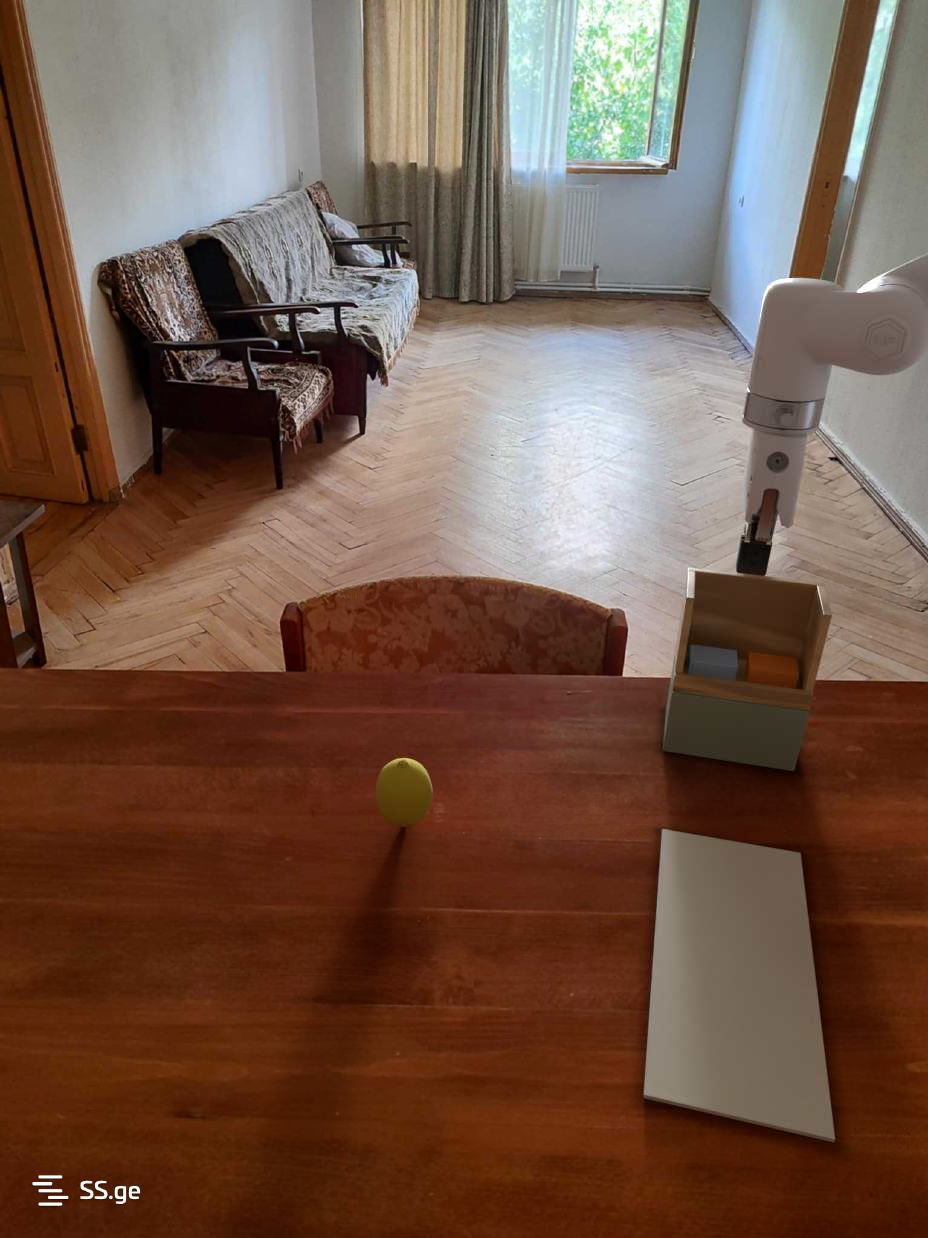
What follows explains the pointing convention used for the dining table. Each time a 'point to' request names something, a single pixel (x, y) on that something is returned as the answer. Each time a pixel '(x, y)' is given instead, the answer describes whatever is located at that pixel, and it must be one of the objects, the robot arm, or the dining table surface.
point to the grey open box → (733, 730)
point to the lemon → (403, 792)
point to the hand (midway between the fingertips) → (750, 571)
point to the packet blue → (712, 662)
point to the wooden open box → (752, 632)
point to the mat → (736, 988)
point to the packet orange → (772, 670)
